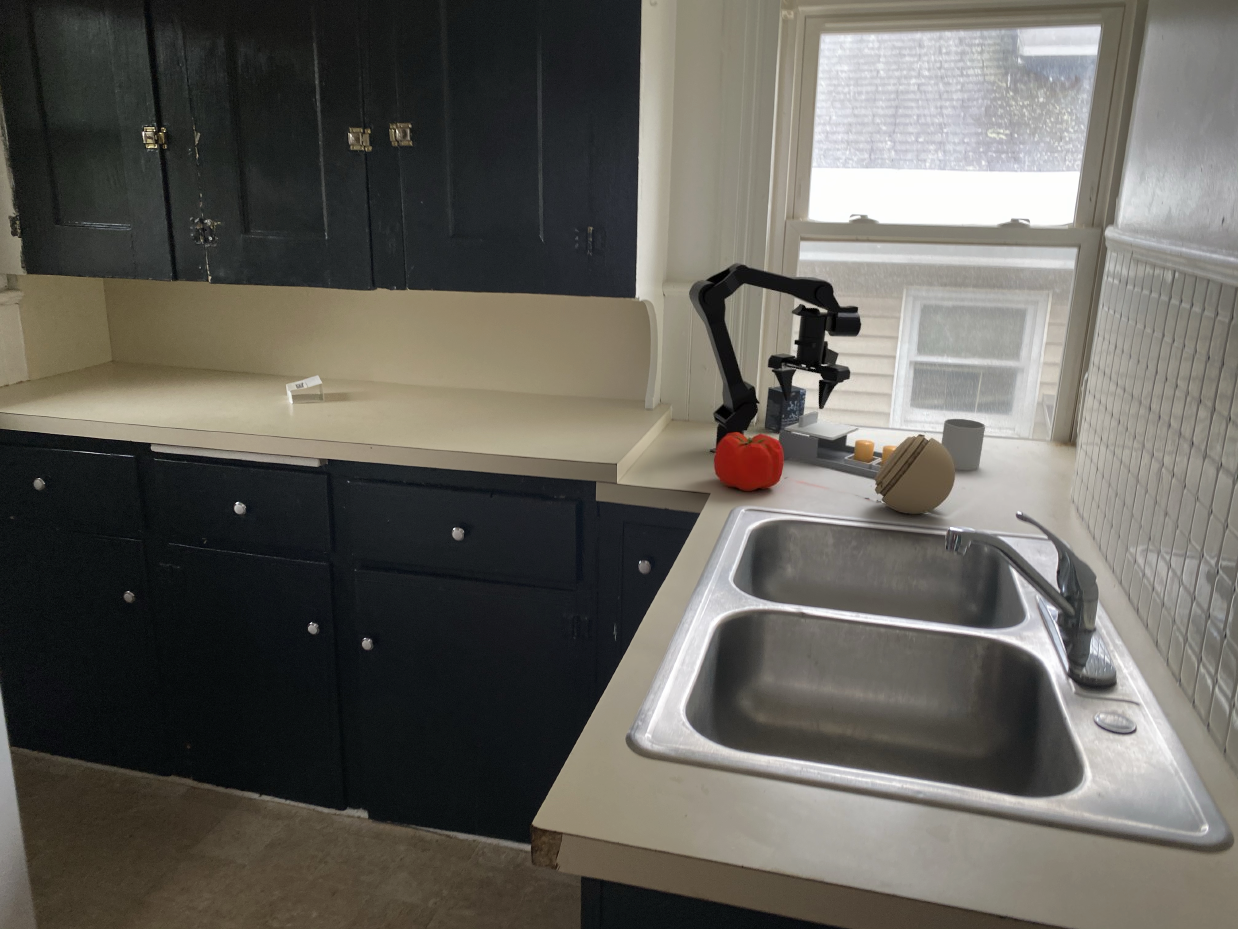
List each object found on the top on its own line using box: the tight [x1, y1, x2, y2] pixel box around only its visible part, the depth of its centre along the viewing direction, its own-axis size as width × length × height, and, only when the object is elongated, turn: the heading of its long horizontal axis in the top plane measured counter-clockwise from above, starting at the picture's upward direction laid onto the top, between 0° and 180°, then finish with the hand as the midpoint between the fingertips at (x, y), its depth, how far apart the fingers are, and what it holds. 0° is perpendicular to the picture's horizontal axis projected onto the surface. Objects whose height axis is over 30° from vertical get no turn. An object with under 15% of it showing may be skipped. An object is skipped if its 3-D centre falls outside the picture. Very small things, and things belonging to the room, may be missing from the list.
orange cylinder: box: [881, 445, 898, 466], centre depth 204 cm, size 4×4×5 cm
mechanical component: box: [874, 433, 956, 515], centre depth 179 cm, size 15×15×15 cm
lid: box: [785, 411, 859, 440], centre depth 213 cm, size 13×12×3 cm
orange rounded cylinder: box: [853, 439, 875, 463], centre depth 208 cm, size 4×4×5 cm
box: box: [764, 384, 807, 434], centre depth 236 cm, size 8×6×11 cm
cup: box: [940, 418, 986, 471], centre depth 210 cm, size 8×8×10 cm
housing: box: [778, 430, 882, 479], centre depth 210 cm, size 15×26×6 cm, turn 51°
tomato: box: [713, 432, 785, 492], centre depth 191 cm, size 14×13×10 cm
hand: (804, 404), depth 216 cm, fingers open, 9 cm apart
